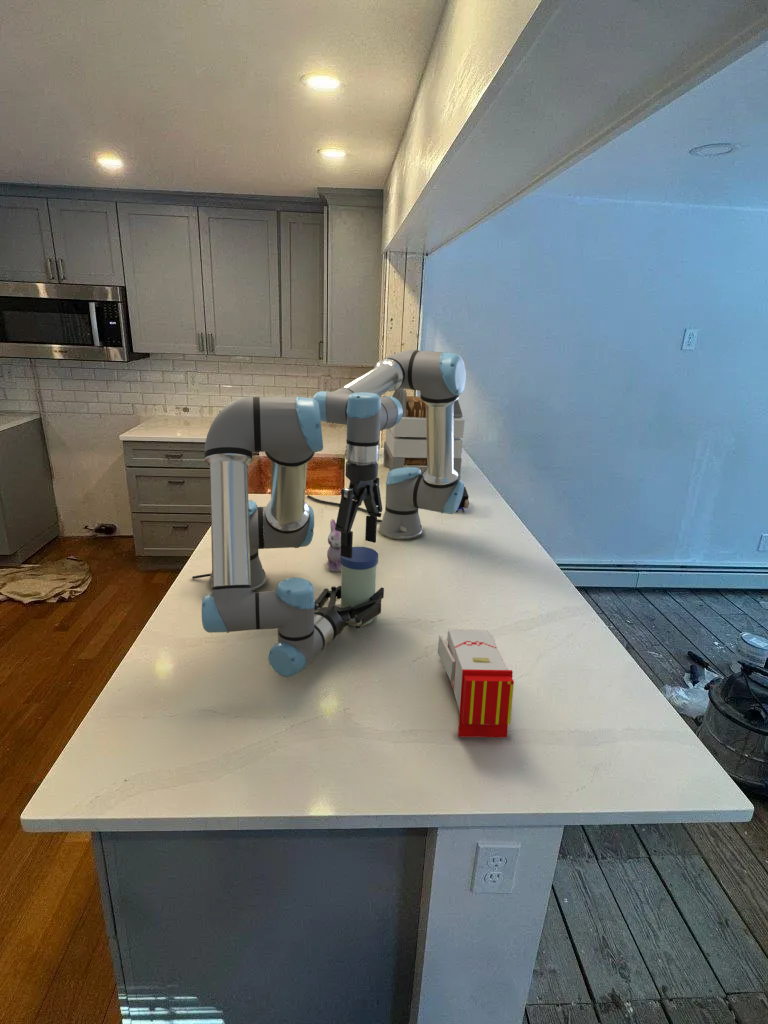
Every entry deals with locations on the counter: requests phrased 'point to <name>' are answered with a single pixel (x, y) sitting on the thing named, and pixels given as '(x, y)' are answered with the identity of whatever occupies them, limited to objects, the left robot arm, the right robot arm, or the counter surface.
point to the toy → (478, 682)
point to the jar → (357, 586)
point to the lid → (360, 558)
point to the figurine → (334, 548)
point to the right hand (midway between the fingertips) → (358, 548)
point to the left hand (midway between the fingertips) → (366, 588)
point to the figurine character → (464, 501)
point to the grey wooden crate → (416, 435)
